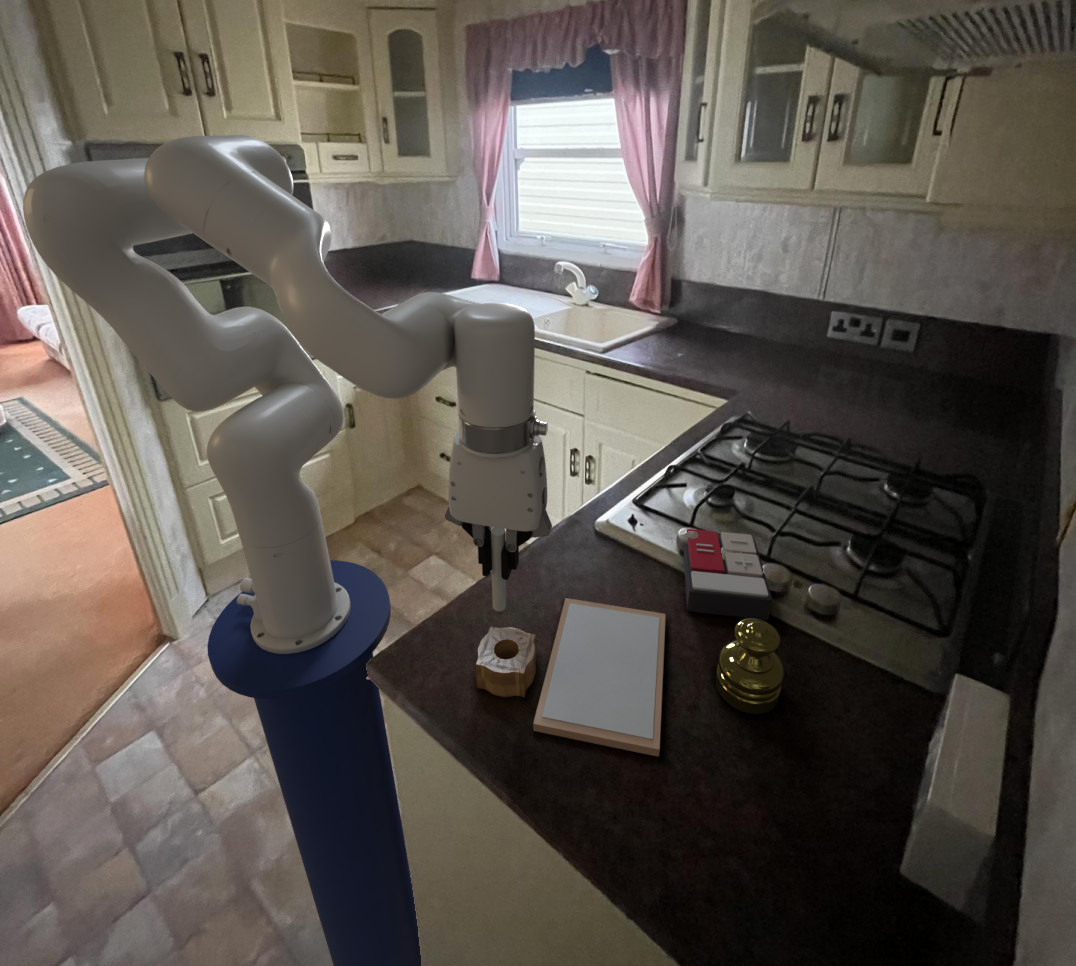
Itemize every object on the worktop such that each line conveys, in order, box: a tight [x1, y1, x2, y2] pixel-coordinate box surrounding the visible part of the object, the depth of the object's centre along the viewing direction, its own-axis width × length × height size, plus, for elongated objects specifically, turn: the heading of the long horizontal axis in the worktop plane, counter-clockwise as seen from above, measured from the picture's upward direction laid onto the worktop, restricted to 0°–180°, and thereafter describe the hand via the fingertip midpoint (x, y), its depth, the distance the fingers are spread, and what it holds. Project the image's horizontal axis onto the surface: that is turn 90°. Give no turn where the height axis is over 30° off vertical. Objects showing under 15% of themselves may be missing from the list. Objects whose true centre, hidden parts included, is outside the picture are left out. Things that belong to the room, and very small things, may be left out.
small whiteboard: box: [532, 597, 666, 757], centre depth 75 cm, size 14×20×1 cm
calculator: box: [682, 528, 773, 621], centre depth 89 cm, size 11×4×15 cm
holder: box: [475, 626, 537, 698], centre depth 74 cm, size 7×7×4 cm
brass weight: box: [715, 618, 786, 715], centre depth 70 cm, size 7×7×10 cm
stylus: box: [491, 527, 507, 616], centre depth 68 cm, size 2×2×12 cm
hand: (498, 569), depth 68 cm, fingers closed on stylus, 1 cm apart
